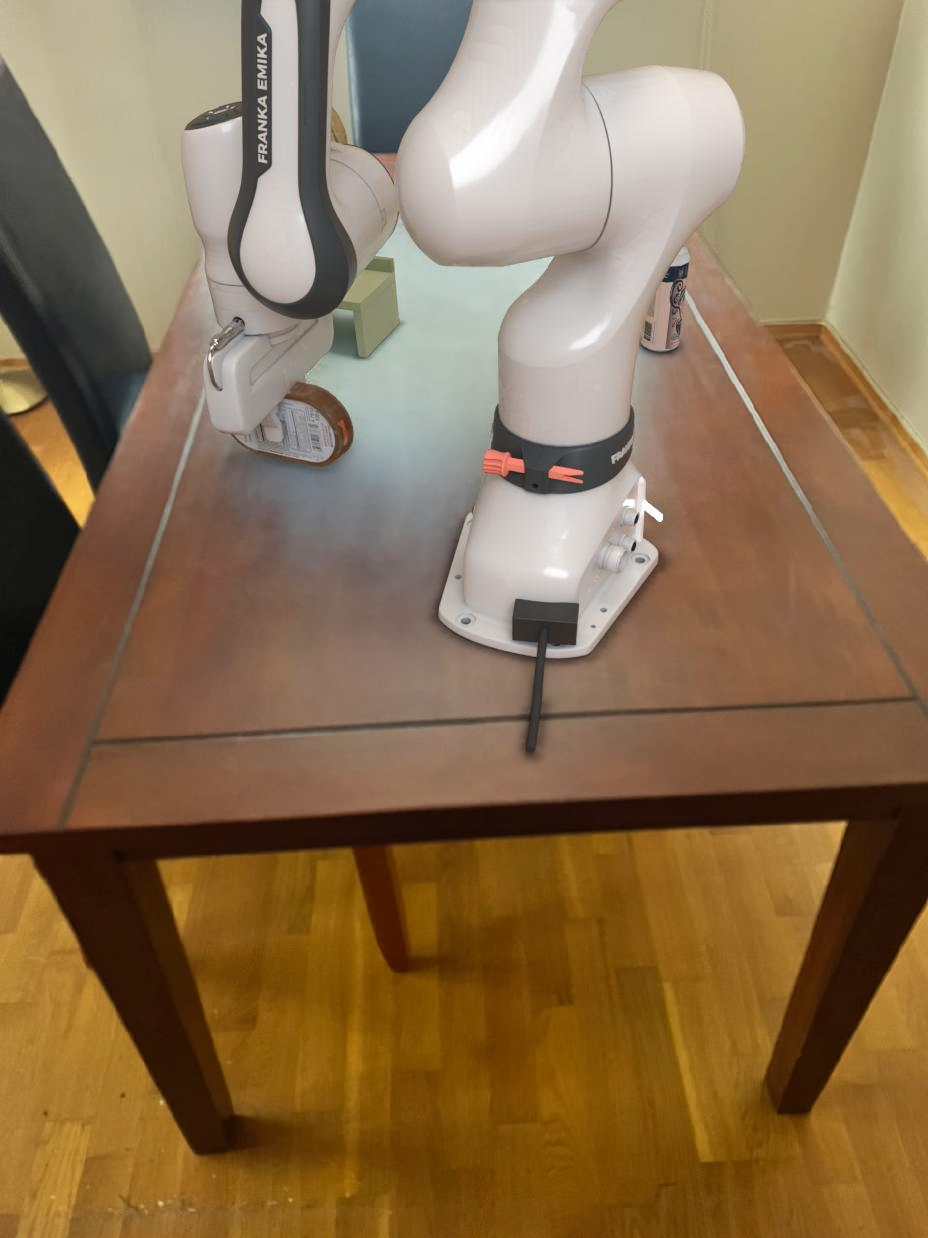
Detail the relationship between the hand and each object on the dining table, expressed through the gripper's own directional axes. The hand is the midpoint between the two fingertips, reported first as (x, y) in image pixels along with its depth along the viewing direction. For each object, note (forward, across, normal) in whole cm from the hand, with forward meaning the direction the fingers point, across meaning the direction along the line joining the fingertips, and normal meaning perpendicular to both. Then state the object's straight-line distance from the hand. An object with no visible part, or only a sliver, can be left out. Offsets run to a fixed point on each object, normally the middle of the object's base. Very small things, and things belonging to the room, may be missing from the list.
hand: (286, 428), depth 96 cm
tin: (+3, 0, 0) cm, 3 cm away
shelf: (+4, +30, +12) cm, 33 cm away
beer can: (+5, +37, -33) cm, 49 cm away
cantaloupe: (+3, +82, +37) cm, 90 cm away
